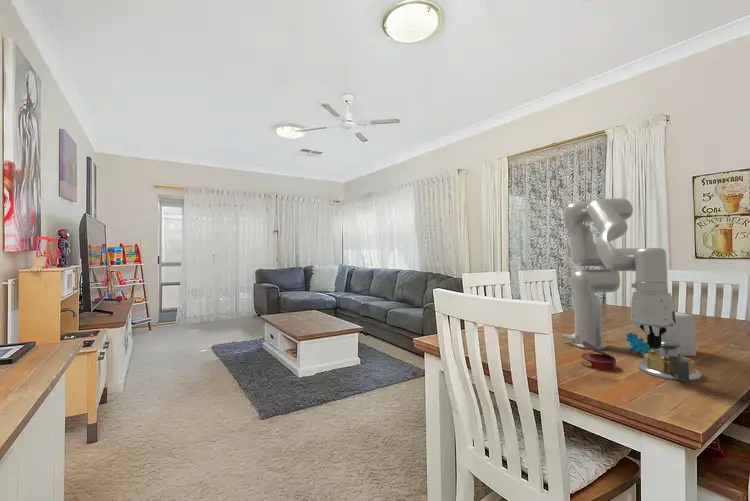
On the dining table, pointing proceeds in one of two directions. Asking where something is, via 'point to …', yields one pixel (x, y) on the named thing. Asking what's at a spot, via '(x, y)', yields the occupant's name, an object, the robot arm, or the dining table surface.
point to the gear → (637, 344)
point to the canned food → (598, 359)
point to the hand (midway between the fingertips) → (654, 347)
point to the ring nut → (670, 364)
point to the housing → (666, 351)
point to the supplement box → (683, 334)
